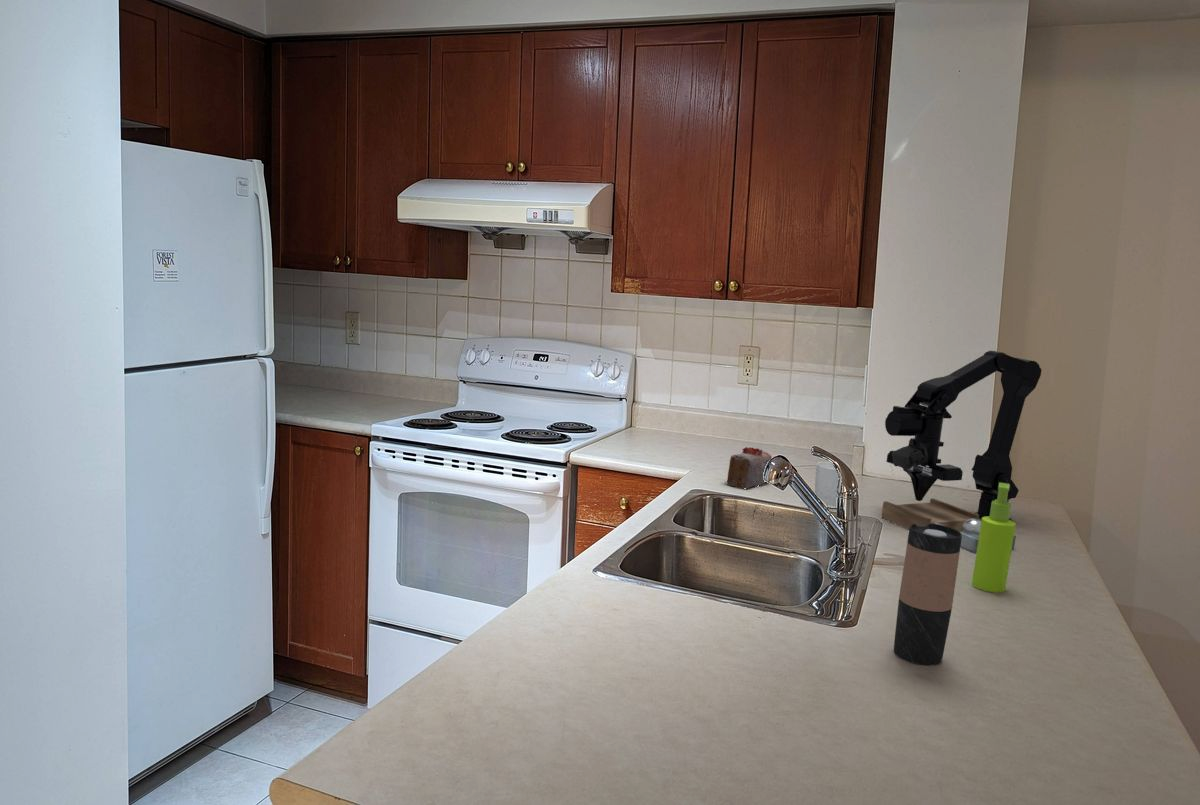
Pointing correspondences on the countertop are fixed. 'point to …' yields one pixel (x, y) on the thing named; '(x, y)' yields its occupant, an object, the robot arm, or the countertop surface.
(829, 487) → the white cup
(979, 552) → the soap dispenser
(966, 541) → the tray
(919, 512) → the deck
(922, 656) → the travel mug
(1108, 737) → the countertop surface
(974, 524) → the ball
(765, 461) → the food item
